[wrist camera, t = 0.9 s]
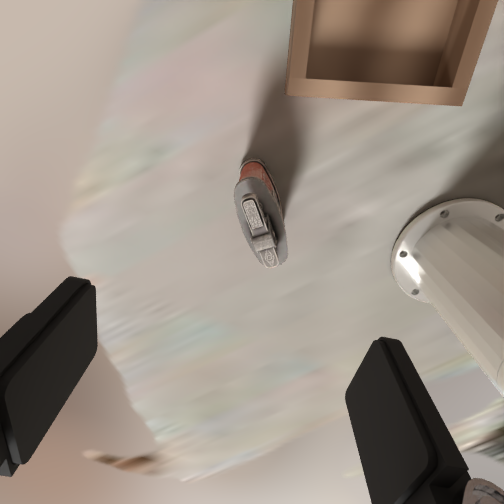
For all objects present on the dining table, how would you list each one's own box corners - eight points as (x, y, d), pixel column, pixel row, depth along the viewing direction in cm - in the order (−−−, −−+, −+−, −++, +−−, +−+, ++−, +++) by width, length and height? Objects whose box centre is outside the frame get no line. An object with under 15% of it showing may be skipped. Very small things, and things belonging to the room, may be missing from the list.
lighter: (289, 225, 33) (298, 276, 25) (259, 235, 34) (258, 287, 25) (265, 153, 30) (266, 181, 21) (232, 164, 30) (220, 197, 22)
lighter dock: (477, -31, 23) (515, -52, 19) (436, 103, 27) (461, 106, 24) (296, -42, 23) (303, -65, 19) (284, 94, 27) (287, 95, 24)
